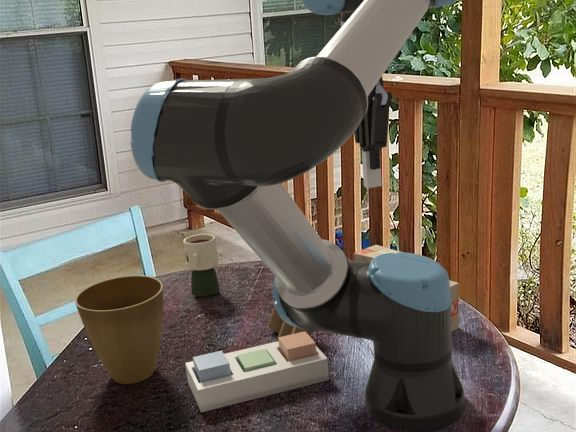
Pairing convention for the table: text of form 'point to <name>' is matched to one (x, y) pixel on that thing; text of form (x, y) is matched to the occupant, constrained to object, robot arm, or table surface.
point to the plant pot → (124, 324)
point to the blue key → (211, 366)
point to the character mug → (202, 263)
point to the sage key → (255, 360)
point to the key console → (257, 378)
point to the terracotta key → (296, 346)
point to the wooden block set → (283, 325)
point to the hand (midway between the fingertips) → (372, 186)
